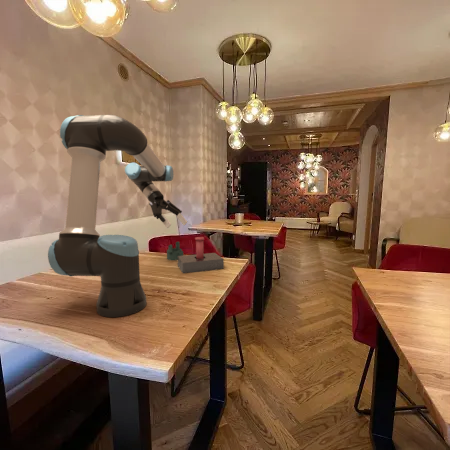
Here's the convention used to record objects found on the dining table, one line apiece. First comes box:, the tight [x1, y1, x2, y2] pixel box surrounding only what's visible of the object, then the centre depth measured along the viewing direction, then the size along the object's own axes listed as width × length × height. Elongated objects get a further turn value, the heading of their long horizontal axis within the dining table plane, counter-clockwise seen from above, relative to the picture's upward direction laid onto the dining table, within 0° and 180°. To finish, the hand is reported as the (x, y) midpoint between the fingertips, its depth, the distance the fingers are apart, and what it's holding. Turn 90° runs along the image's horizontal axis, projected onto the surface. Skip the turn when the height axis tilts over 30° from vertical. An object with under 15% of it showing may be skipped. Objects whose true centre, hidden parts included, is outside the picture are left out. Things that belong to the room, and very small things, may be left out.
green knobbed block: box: [166, 241, 184, 261], centre depth 146 cm, size 9×9×9 cm
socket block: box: [177, 252, 225, 274], centre depth 129 cm, size 20×14×5 cm
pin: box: [194, 236, 205, 259], centre depth 128 cm, size 4×4×15 cm
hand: (177, 224), depth 130 cm, fingers open, 13 cm apart
